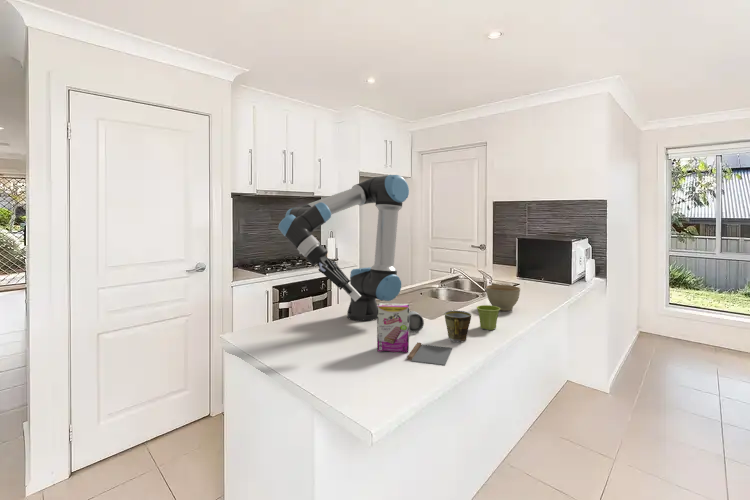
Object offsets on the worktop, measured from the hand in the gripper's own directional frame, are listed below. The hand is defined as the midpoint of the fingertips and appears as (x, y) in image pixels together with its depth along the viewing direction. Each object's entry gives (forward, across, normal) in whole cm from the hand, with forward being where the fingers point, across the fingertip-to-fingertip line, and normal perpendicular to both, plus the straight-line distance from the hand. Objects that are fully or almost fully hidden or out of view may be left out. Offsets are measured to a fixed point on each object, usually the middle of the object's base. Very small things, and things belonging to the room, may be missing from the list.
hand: (358, 298), depth 134 cm
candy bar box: (+22, -1, -4) cm, 22 cm away
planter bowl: (+53, -67, +28) cm, 90 cm away
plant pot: (+46, -33, +21) cm, 61 cm away
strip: (+27, 0, +2) cm, 27 cm away
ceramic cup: (+37, -15, +12) cm, 42 cm away
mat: (+31, +1, +6) cm, 32 cm away
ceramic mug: (+24, -25, -2) cm, 35 cm away
